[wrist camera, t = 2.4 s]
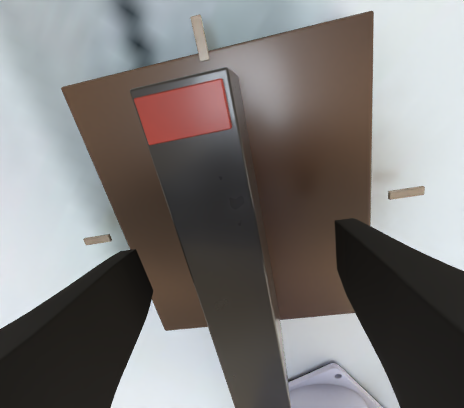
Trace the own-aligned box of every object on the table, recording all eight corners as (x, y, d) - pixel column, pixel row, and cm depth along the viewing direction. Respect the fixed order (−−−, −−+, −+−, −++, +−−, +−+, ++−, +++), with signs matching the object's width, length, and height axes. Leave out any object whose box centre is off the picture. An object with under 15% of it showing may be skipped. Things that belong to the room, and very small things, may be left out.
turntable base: (391, 296, 16) (410, 324, 14) (150, 320, 19) (138, 348, 17) (410, -26, 10) (450, -53, 8) (37, 71, 12) (-4, 68, 10)
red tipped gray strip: (278, 308, 15) (292, 416, 10) (240, 312, 15) (235, 418, 10) (237, 74, 10) (226, 65, 5) (182, 87, 10) (122, 89, 5)
